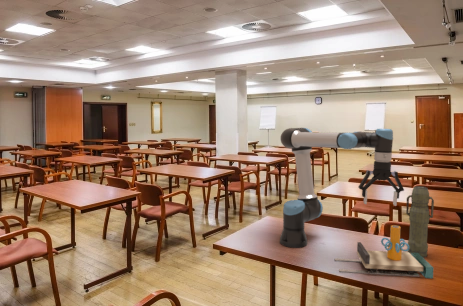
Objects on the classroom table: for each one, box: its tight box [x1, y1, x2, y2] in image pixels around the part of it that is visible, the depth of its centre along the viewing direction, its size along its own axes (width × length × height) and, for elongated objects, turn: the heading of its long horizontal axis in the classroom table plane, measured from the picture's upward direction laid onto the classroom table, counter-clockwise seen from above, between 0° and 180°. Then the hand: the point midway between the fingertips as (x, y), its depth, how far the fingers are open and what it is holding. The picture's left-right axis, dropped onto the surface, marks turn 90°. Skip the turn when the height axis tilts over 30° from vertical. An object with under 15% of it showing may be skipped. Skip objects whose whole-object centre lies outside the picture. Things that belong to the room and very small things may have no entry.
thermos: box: [405, 185, 435, 259], centre depth 168 cm, size 9×12×35 cm
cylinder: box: [380, 224, 409, 261], centre depth 152 cm, size 12×10×15 cm
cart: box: [356, 241, 423, 274], centre depth 154 cm, size 24×16×8 cm, turn 82°
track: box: [334, 253, 435, 279], centre depth 154 cm, size 39×16×5 cm, turn 82°
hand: (379, 204), depth 161 cm, fingers open, 13 cm apart
